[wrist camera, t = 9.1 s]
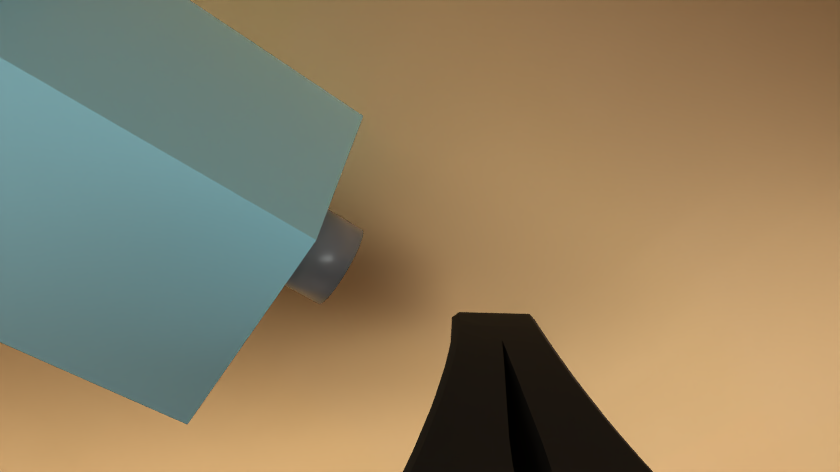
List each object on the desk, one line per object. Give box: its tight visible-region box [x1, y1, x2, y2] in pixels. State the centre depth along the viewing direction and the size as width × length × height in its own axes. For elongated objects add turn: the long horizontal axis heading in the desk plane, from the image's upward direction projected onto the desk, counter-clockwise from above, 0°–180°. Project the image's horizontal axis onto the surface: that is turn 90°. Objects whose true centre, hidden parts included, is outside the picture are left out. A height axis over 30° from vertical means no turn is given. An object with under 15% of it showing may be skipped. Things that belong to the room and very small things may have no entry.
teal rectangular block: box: [0, 0, 363, 424], centre depth 8 cm, size 7×4×4 cm, turn 55°
